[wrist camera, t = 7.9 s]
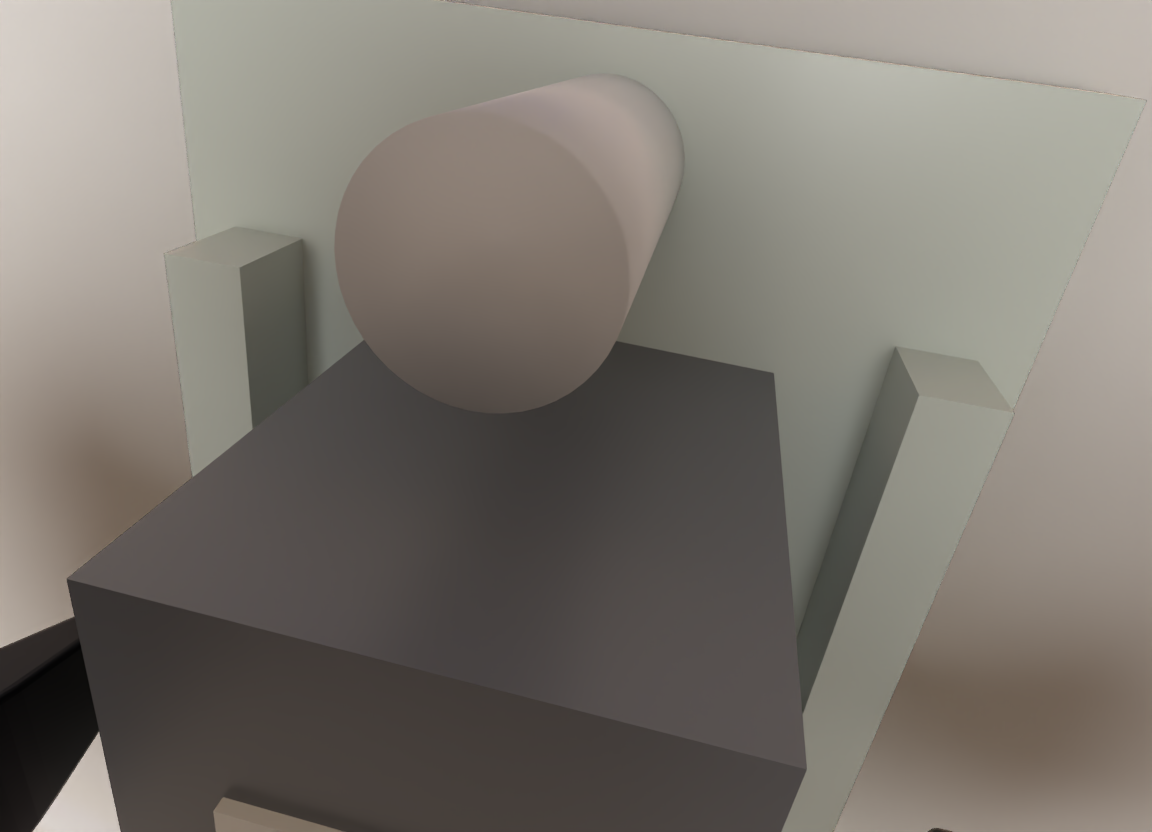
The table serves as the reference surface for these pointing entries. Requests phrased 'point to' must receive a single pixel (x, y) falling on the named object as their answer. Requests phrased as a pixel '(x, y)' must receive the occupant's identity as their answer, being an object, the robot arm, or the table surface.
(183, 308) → the pegged rail plate
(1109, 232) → the table surface
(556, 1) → the table surface
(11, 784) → the robot arm
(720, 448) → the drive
